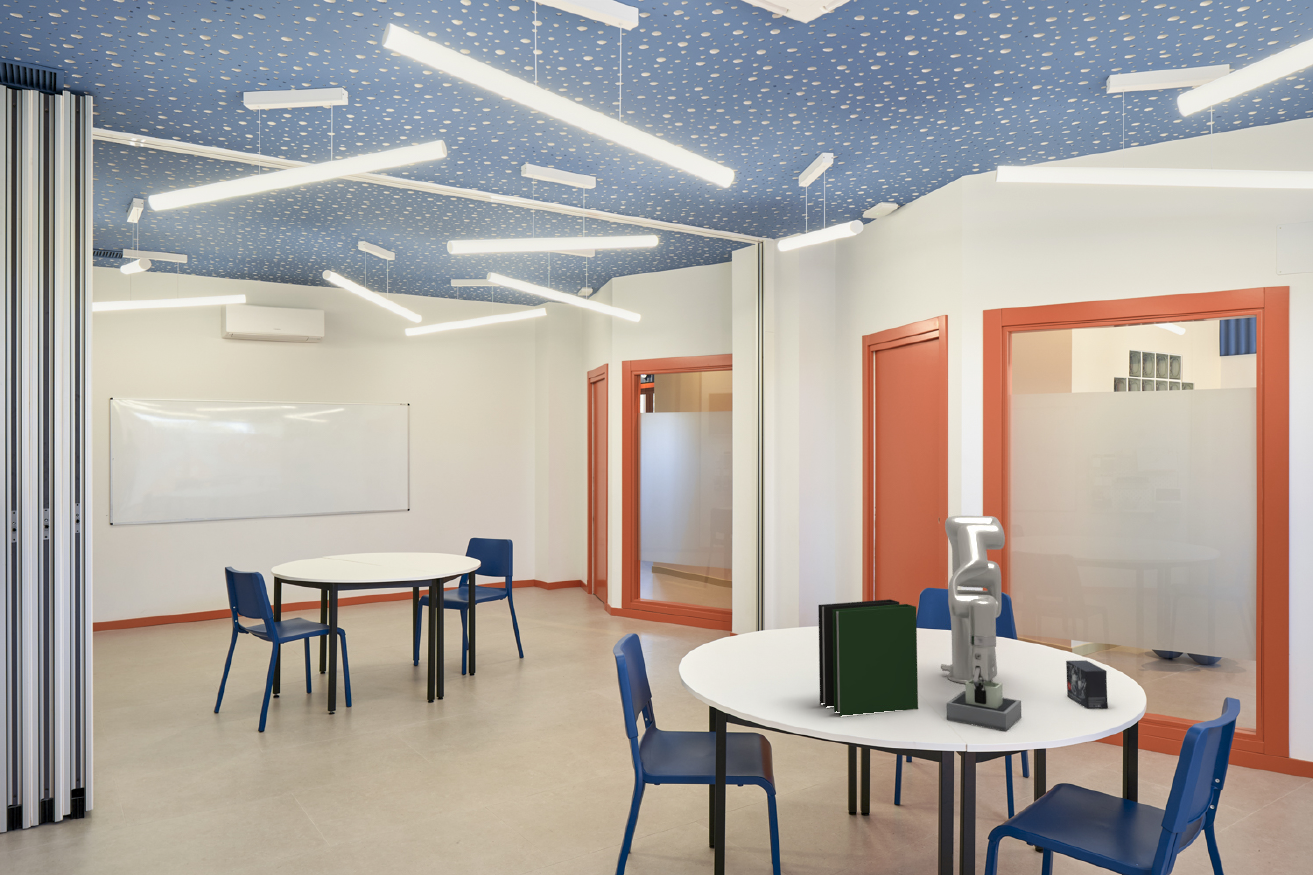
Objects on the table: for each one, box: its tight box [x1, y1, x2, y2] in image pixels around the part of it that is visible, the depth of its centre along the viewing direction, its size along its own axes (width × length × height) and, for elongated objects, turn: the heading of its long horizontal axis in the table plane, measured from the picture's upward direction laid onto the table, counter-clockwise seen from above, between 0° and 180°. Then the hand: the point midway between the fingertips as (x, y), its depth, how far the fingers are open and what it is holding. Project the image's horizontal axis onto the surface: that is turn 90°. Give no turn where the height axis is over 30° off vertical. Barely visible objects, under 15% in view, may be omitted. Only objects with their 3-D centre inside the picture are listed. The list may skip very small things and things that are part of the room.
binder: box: [818, 598, 919, 717], centre depth 255 cm, size 27×15×32 cm, turn 107°
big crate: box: [946, 690, 1022, 732], centre depth 242 cm, size 17×16×5 cm
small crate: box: [964, 679, 1004, 709], centre depth 242 cm, size 9×6×6 cm, turn 51°
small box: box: [1065, 659, 1109, 710], centre depth 257 cm, size 13×7×12 cm, turn 178°
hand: (983, 700), depth 242 cm, fingers closed on small crate, 6 cm apart
